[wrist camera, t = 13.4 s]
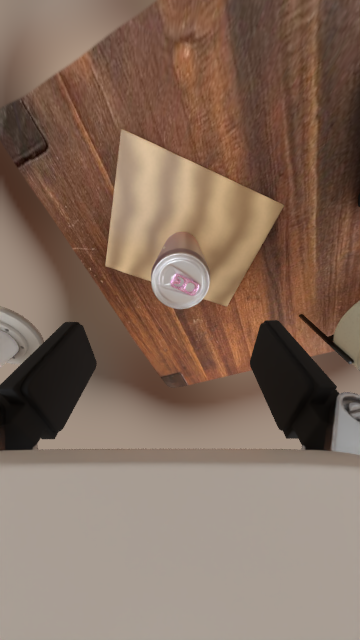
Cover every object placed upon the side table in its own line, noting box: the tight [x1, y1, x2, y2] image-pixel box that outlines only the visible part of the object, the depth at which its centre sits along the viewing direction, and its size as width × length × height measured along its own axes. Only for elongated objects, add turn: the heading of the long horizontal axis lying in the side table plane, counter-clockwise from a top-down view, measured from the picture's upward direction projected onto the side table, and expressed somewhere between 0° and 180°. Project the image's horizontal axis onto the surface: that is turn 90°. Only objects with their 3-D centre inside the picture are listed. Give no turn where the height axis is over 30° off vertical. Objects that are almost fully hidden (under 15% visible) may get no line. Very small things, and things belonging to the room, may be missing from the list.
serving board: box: [105, 129, 284, 307], centre depth 29 cm, size 24×18×2 cm
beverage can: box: [151, 232, 210, 309], centre depth 23 cm, size 6×6×15 cm
